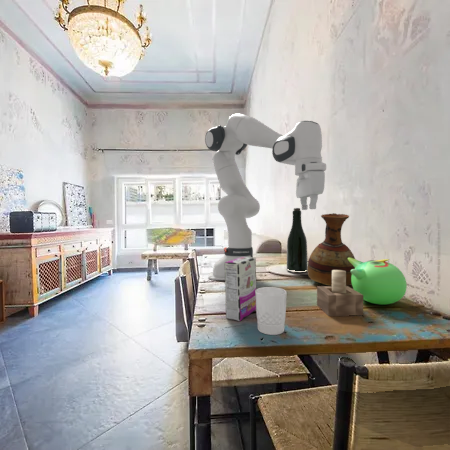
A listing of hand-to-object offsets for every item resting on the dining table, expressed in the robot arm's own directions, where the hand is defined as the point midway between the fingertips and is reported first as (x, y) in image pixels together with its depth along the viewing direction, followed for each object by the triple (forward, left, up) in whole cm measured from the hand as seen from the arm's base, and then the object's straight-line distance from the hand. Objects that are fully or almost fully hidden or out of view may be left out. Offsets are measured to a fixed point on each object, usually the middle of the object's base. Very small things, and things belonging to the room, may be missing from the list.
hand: (308, 209), depth 93 cm
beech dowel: (+6, -11, -31) cm, 34 cm away
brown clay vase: (+16, +21, -31) cm, 41 cm away
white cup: (-17, -25, -31) cm, 44 cm away
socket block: (+6, -11, -31) cm, 34 cm away
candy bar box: (-24, -14, -31) cm, 42 cm away
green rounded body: (+21, -4, -31) cm, 38 cm away
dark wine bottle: (+8, +47, -31) cm, 57 cm away
